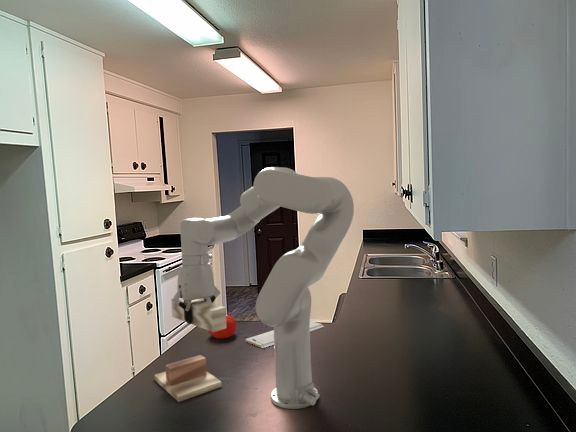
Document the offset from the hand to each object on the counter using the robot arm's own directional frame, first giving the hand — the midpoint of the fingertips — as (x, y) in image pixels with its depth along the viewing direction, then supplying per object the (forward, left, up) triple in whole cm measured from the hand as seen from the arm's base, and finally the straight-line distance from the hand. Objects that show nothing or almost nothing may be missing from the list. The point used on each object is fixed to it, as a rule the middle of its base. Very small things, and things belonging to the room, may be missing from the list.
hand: (197, 320), depth 126 cm
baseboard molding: (+12, -42, -19) cm, 47 cm away
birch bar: (0, 0, -1) cm, 1 cm away
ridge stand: (0, +4, -18) cm, 18 cm away
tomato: (+28, -23, -18) cm, 40 cm away
